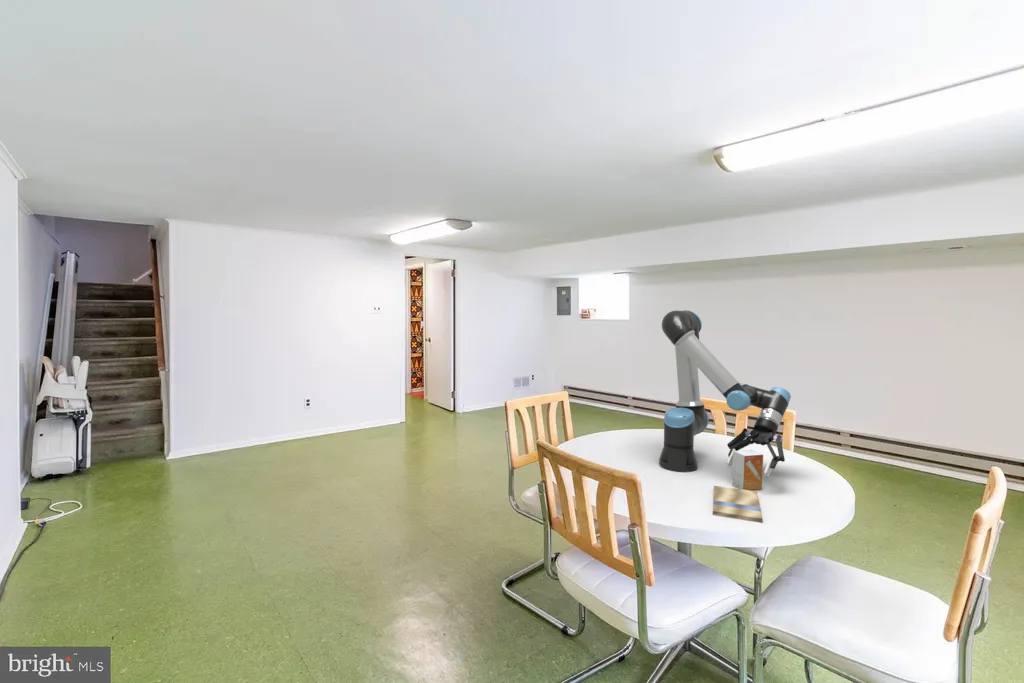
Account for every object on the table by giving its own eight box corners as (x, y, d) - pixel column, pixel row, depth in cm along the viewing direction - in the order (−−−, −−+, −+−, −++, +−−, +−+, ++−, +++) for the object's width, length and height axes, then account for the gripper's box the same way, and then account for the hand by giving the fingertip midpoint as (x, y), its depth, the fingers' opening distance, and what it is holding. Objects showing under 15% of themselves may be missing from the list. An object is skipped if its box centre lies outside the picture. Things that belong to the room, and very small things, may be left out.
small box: (743, 491, 170) (744, 455, 169) (731, 485, 176) (732, 450, 175) (762, 489, 172) (763, 454, 171) (750, 483, 178) (751, 449, 177)
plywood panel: (712, 514, 151) (712, 510, 150) (713, 488, 172) (713, 485, 172) (762, 522, 145) (762, 518, 145) (757, 494, 167) (757, 491, 167)
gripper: (732, 411, 189) (710, 455, 181) (800, 423, 169) (779, 473, 161) (738, 423, 193) (718, 466, 185) (806, 435, 173) (786, 485, 165)
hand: (746, 469), depth 173 cm, fingers open, 13 cm apart
